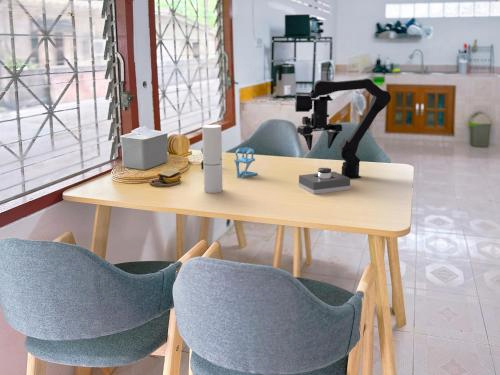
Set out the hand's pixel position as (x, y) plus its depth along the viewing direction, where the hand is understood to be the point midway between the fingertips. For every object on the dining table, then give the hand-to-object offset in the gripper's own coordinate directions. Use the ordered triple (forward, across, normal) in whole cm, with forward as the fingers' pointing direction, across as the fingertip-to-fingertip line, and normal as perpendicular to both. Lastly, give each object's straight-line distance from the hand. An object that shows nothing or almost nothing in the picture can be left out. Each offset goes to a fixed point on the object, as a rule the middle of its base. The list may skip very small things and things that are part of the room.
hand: (319, 149), depth 228 cm
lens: (+10, +7, +16) cm, 20 cm away
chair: (+12, +27, -16) cm, 34 cm away
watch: (+12, +36, -37) cm, 53 cm away
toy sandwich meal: (+12, +61, -20) cm, 65 cm away
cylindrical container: (+12, +48, 0) cm, 49 cm away
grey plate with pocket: (+12, +7, +16) cm, 21 cm away
